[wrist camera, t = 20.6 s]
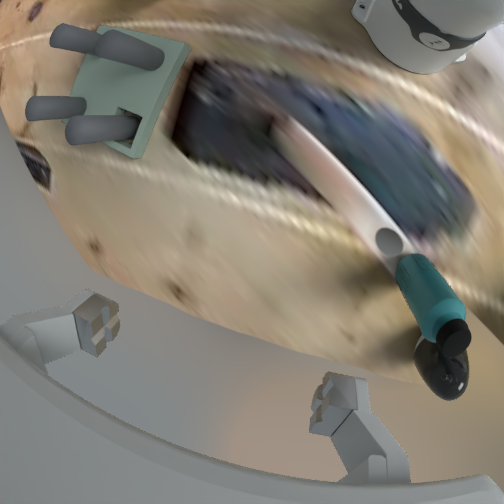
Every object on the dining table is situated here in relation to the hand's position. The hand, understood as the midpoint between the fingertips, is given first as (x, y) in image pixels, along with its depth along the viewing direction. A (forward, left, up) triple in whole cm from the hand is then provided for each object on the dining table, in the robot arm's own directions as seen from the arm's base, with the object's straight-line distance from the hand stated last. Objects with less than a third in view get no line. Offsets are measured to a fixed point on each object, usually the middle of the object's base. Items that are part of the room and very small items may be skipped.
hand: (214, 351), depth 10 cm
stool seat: (-12, -32, -34) cm, 48 cm away
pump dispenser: (+18, +34, -34) cm, 52 cm away
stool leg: (-5, -28, -34) cm, 44 cm away
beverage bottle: (+6, +22, -34) cm, 41 cm away
